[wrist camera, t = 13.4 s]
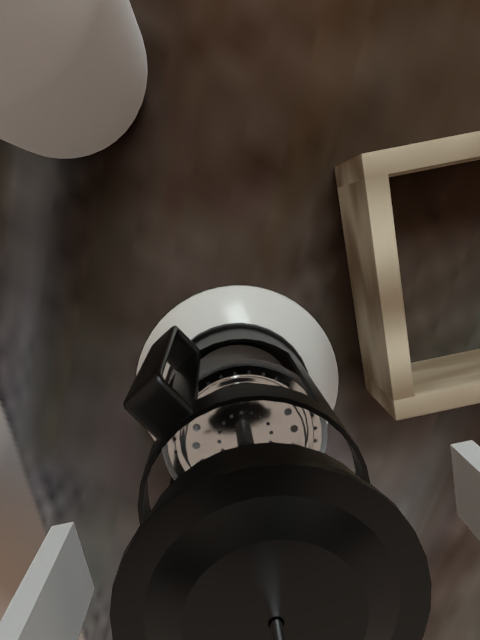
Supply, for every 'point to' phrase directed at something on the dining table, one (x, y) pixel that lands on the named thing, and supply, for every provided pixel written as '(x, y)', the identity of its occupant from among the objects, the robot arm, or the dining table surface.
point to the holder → (397, 282)
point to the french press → (258, 509)
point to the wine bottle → (69, 74)
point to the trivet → (260, 311)
